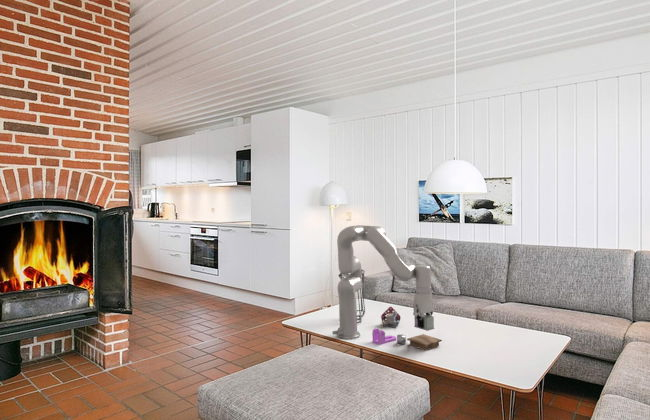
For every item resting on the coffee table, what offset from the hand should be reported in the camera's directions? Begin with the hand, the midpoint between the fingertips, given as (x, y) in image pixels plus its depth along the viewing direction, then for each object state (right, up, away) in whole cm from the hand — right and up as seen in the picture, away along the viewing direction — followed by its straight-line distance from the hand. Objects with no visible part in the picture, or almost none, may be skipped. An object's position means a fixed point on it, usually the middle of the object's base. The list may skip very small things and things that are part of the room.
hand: (424, 326), depth 210 cm
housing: (0, -1, 0) cm, 1 cm away
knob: (-11, -10, +3) cm, 15 cm away
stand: (0, -10, 0) cm, 10 cm away
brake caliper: (-11, -10, +35) cm, 38 cm away
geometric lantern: (-33, -10, +47) cm, 58 cm away
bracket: (-18, -10, +8) cm, 22 cm away
